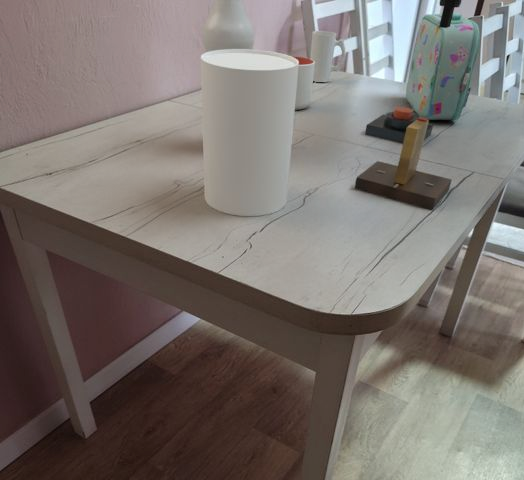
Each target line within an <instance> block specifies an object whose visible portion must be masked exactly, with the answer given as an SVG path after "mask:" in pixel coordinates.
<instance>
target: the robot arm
mask: <svg viewBox="0 0 524 480" xmlns="http://www.w3.org/2000/svg"><path fill="white" fill-rule="evenodd" d="M461 5H462V0H439V7H443V9H442V13H441V14H442V17H441V21H440V26H439V27H442V28H448V27H450V24H451V20H452V16H453V14H454V12H455V8H460V6H461Z"/></svg>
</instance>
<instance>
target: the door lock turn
mask: <svg viewBox="0 0 524 480" xmlns="http://www.w3.org/2000/svg"><path fill="white" fill-rule="evenodd" d="M429 122H430V120H428V119H426V118H421V117H419V116H418V119H417V120H416V121H414V122H413V123H412V124H410V125H409V126H408V127H407V129H406V133H405V138H404V142H403V144H402V146H401V151H400V155H399V160H398V163H397V166H398V168H397V172H396V176H395V180H394V182H395V183H399V184H403V185H404V184H405V183H406V182H407V181H408V180H409V179H410V178H411V177H413V176H414V175H415V172H416V171H417V168H418V165H419V160H420V156H421V153H422V148H423V146H424V142H425V140H424V138H425V134H426V130H427V126H428V124H429Z"/></svg>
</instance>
